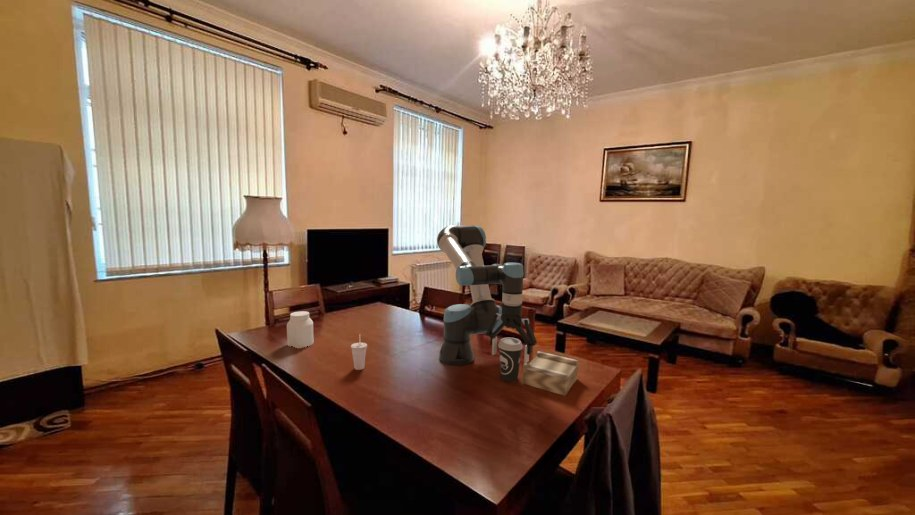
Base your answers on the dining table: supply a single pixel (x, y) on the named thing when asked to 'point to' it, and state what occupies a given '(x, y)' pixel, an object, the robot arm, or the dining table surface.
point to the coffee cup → (509, 358)
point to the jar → (300, 330)
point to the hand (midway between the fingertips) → (510, 357)
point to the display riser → (551, 373)
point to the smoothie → (359, 354)
